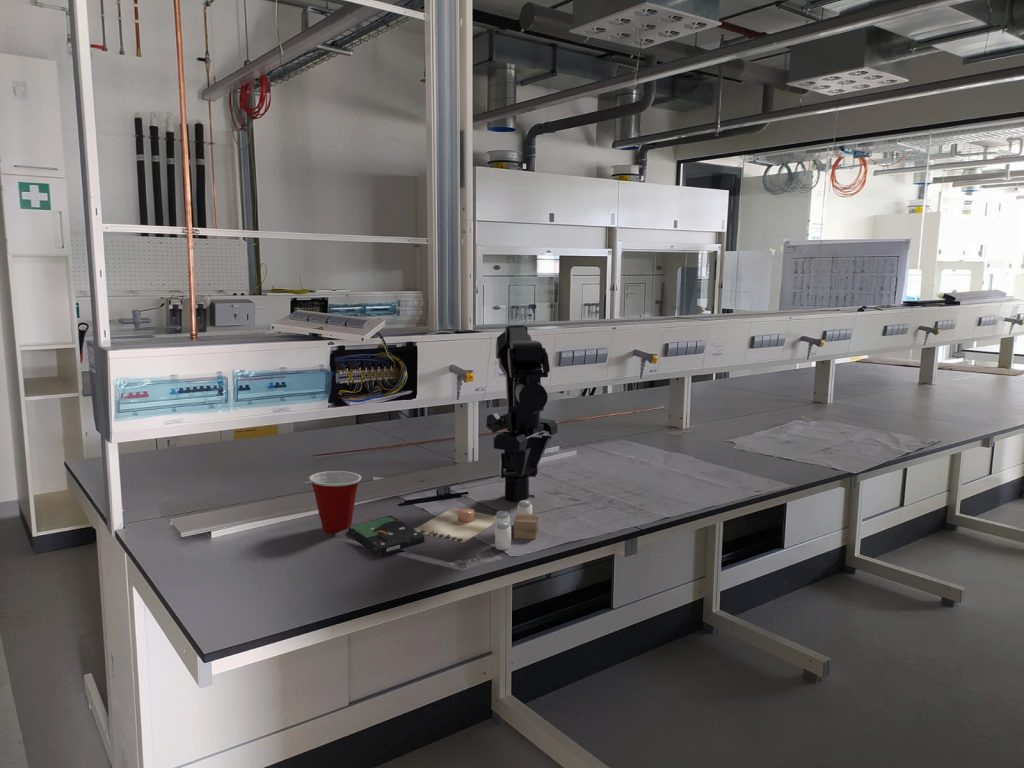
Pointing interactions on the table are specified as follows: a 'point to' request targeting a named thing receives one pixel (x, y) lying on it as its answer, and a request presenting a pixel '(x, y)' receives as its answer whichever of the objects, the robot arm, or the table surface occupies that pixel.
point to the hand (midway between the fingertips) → (526, 472)
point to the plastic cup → (335, 498)
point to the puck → (466, 515)
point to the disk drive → (385, 535)
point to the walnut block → (526, 526)
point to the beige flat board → (455, 526)
